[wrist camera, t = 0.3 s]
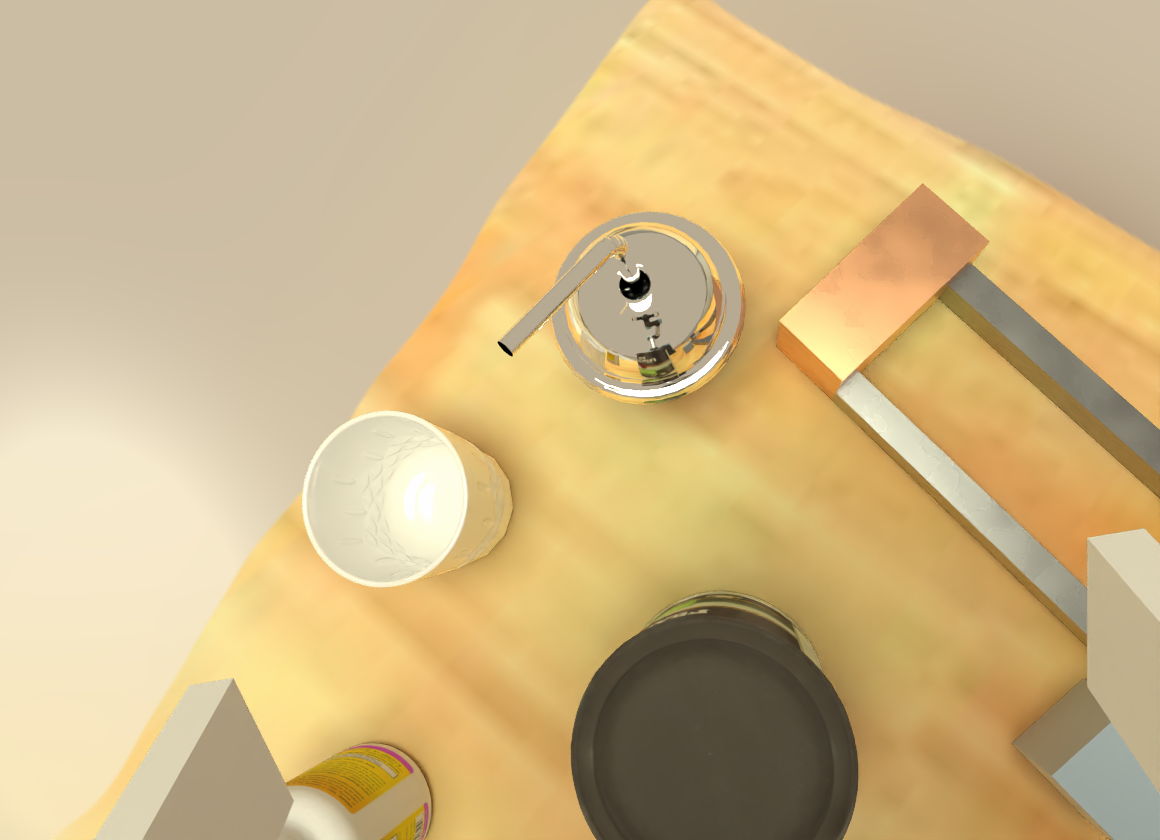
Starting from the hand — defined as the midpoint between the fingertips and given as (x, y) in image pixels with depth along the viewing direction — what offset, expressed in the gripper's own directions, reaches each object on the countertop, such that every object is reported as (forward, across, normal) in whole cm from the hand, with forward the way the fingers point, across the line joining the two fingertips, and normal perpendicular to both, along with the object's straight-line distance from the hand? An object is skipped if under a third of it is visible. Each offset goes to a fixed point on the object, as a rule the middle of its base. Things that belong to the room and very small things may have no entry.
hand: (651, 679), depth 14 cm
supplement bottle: (+24, +20, +26) cm, 41 cm away
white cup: (+32, +13, +14) cm, 37 cm away
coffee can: (+25, 0, +24) cm, 35 cm away
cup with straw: (+35, 0, +8) cm, 36 cm away
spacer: (+22, -16, +27) cm, 39 cm away
